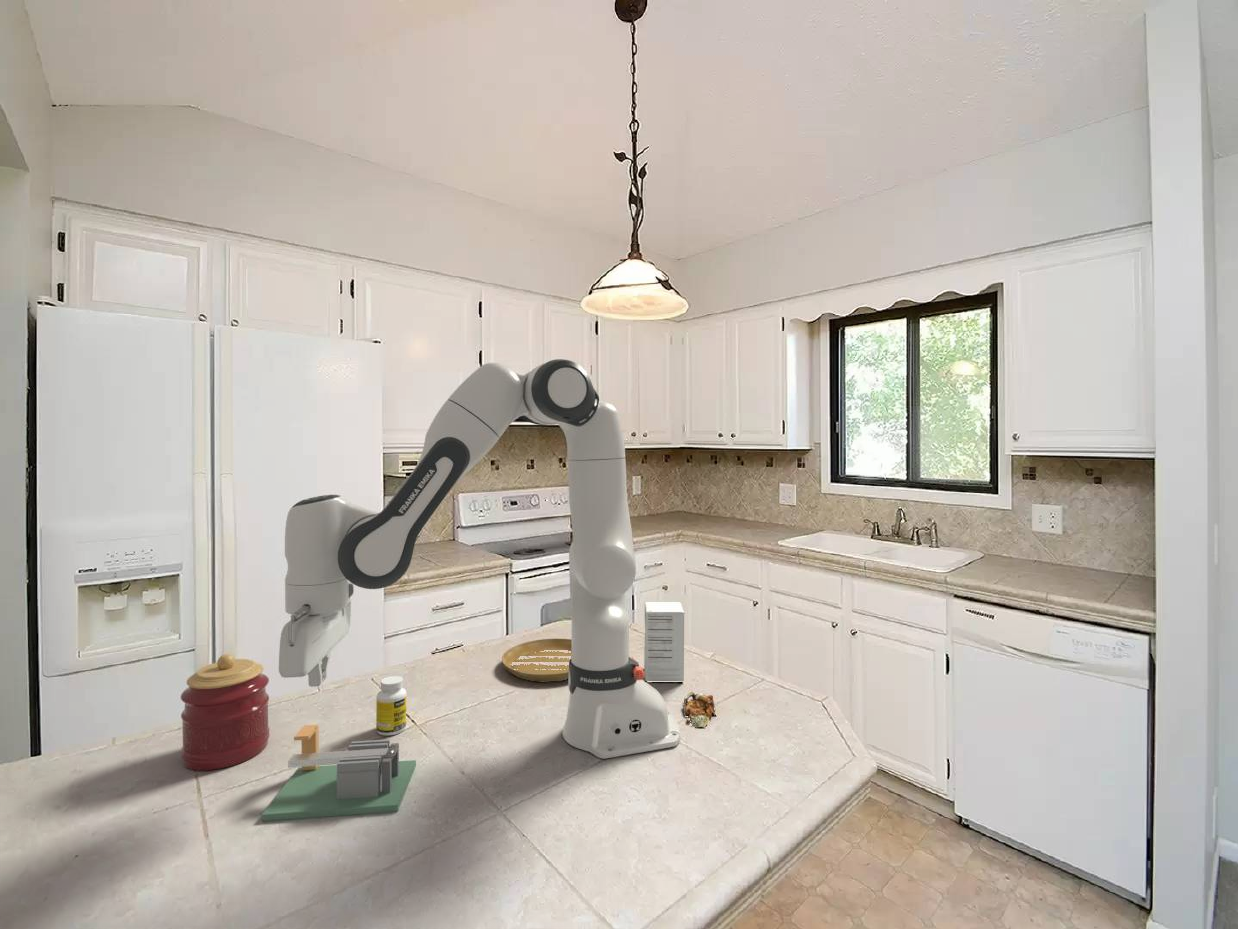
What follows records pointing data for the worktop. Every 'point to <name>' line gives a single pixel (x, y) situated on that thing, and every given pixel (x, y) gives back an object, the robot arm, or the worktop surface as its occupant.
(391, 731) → the supplement bottle
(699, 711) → the pastry
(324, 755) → the strap
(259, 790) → the worktop surface
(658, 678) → the supplement box
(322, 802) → the heatsink base
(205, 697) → the canister
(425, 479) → the robot arm
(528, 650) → the plant saucer
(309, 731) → the bracket
